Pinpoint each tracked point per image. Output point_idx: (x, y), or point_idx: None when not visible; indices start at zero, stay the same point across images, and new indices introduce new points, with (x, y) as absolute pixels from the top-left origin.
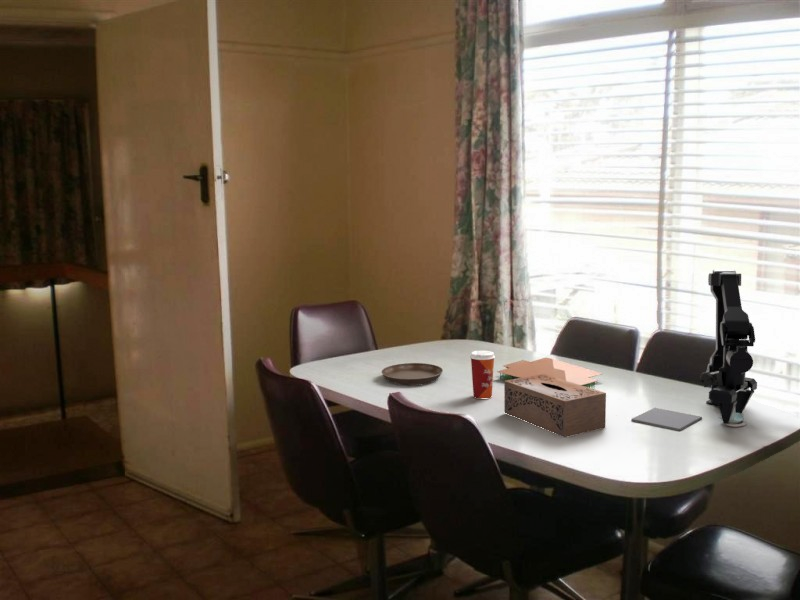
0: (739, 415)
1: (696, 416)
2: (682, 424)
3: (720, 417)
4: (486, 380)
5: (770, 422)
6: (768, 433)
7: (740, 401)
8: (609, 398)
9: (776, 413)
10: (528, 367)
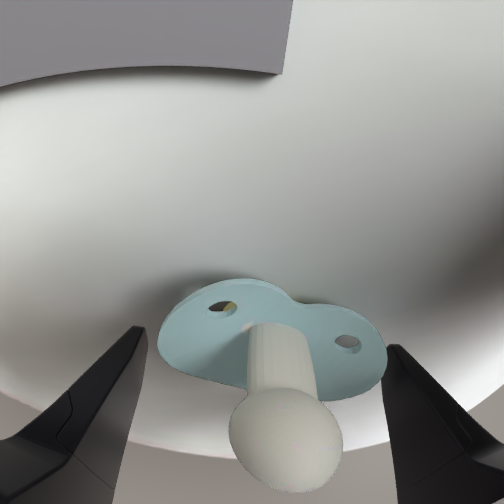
0: (348, 381)
1: (250, 20)
2: None
3: (164, 321)
4: None
5: (370, 417)
6: (200, 436)
7: (419, 454)
8: None
9: (488, 385)
10: None
